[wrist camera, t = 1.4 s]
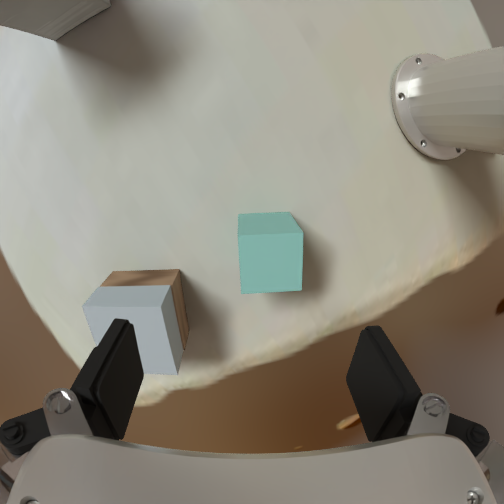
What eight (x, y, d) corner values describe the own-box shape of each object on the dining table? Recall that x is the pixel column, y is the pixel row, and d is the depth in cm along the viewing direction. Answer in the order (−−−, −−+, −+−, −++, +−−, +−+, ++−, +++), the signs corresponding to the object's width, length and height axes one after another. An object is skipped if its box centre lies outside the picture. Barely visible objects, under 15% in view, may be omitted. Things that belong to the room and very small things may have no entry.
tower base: (179, 267, 31) (172, 284, 27) (189, 328, 33) (184, 349, 30) (113, 270, 30) (100, 286, 27) (128, 328, 33) (118, 347, 30)
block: (288, 211, 29) (303, 232, 22) (288, 258, 30) (301, 290, 24) (238, 214, 29) (237, 235, 22) (240, 261, 30) (241, 293, 24)
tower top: (170, 284, 27) (160, 306, 23) (183, 349, 30) (177, 374, 26) (98, 286, 27) (82, 306, 23) (117, 347, 30) (106, 370, 26)
